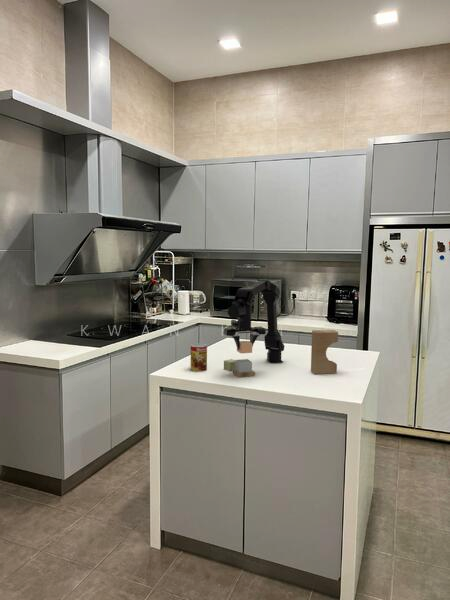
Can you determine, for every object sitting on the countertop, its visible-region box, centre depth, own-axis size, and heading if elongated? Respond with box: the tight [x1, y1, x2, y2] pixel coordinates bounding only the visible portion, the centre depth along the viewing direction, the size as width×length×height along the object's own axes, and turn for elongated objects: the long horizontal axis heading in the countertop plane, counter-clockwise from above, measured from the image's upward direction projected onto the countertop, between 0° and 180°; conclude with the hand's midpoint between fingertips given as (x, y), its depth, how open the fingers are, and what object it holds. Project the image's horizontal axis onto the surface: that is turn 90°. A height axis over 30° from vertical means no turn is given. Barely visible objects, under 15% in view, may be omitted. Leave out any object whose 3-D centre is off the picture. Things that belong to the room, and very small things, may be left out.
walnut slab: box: [232, 369, 256, 379], centre depth 205 cm, size 8×8×2 cm
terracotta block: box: [236, 340, 253, 354], centre depth 203 cm, size 6×6×4 cm
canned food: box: [190, 342, 208, 373], centre depth 212 cm, size 8×8×12 cm
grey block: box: [235, 358, 253, 373], centre depth 204 cm, size 6×6×4 cm
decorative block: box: [310, 329, 339, 375], centre depth 209 cm, size 11×6×20 cm, turn 98°
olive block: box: [223, 358, 237, 373], centre depth 213 cm, size 5×5×4 cm
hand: (244, 349), depth 204 cm, fingers closed on terracotta block, 5 cm apart
